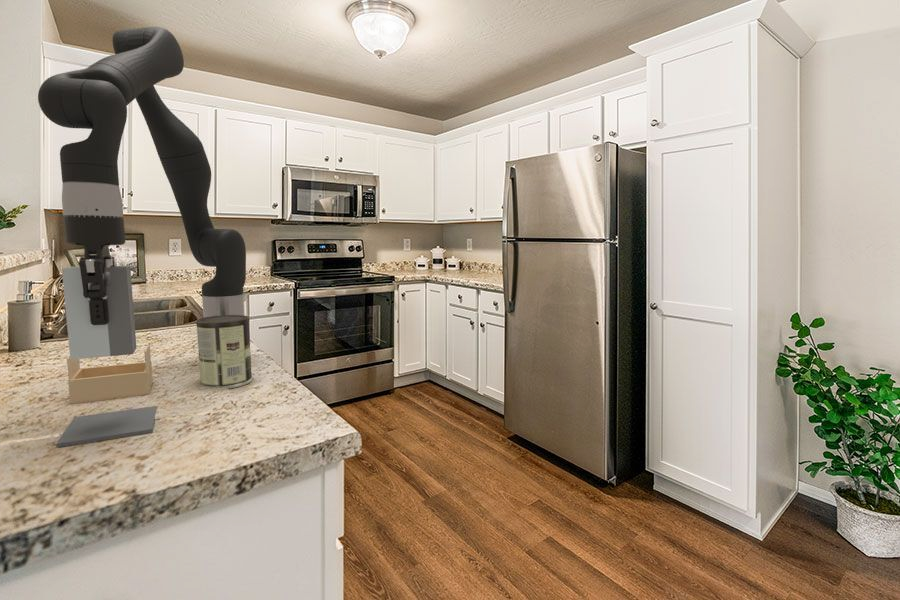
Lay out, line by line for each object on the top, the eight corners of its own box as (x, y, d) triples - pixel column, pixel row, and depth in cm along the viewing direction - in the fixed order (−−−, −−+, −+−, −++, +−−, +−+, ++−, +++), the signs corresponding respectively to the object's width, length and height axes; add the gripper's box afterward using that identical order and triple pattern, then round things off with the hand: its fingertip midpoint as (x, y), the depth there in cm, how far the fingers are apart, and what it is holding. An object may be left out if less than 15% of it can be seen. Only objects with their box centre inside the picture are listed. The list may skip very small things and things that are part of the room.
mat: (157, 408, 85) (157, 405, 85) (152, 432, 75) (152, 428, 75) (74, 420, 80) (74, 417, 79) (56, 447, 69) (56, 443, 69)
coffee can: (226, 374, 108) (223, 313, 106) (262, 378, 105) (259, 316, 103) (188, 386, 98) (183, 320, 97) (226, 392, 95) (223, 323, 93)
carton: (152, 384, 100) (149, 342, 99) (149, 396, 92) (145, 352, 91) (81, 392, 94) (77, 348, 93) (70, 407, 86) (65, 359, 85)
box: (136, 347, 80) (130, 265, 78) (133, 354, 75) (126, 267, 74) (77, 352, 76) (69, 266, 74) (70, 359, 72) (61, 268, 70)
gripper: (116, 212, 69) (125, 327, 71) (128, 217, 81) (136, 314, 83) (50, 211, 65) (62, 331, 67) (74, 215, 78) (83, 317, 80)
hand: (103, 321), depth 75 cm, fingers closed on box, 5 cm apart
